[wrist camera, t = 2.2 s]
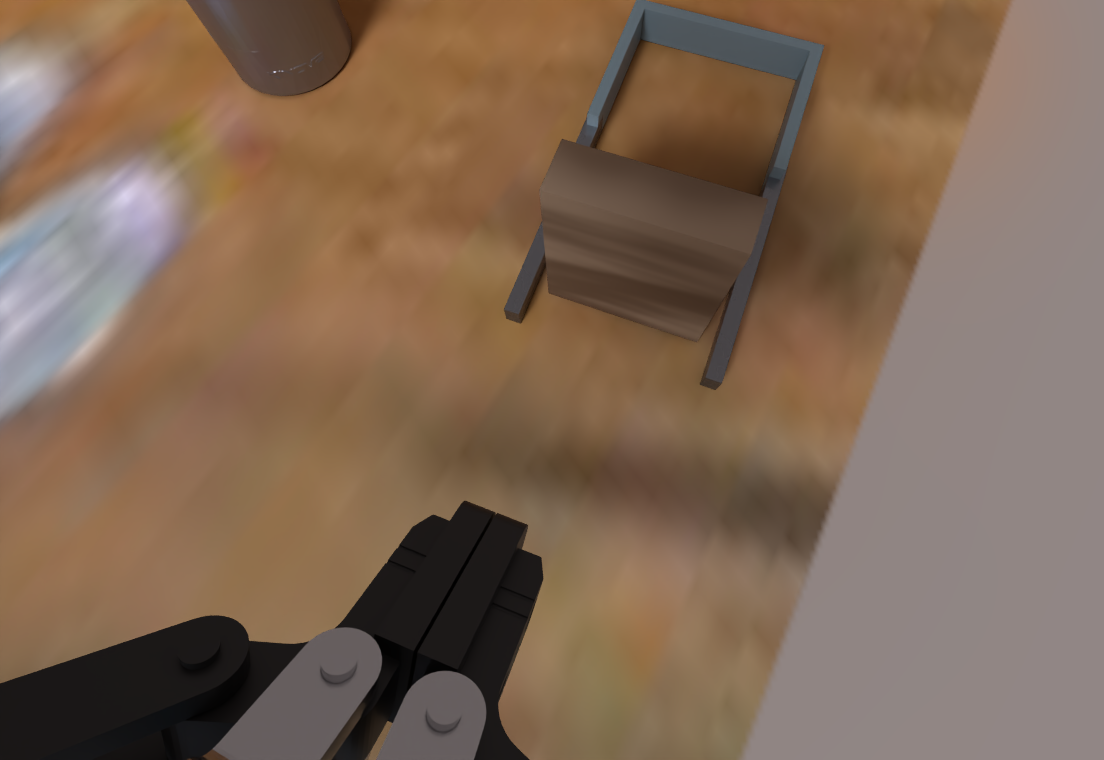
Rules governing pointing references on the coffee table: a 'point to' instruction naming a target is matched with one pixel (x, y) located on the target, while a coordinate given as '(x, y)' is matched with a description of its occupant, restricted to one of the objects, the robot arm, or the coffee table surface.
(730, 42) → the blue-grey rectangular frame
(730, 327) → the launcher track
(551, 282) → the board
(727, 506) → the coffee table surface
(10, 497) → the coffee table surface
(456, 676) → the robot arm
